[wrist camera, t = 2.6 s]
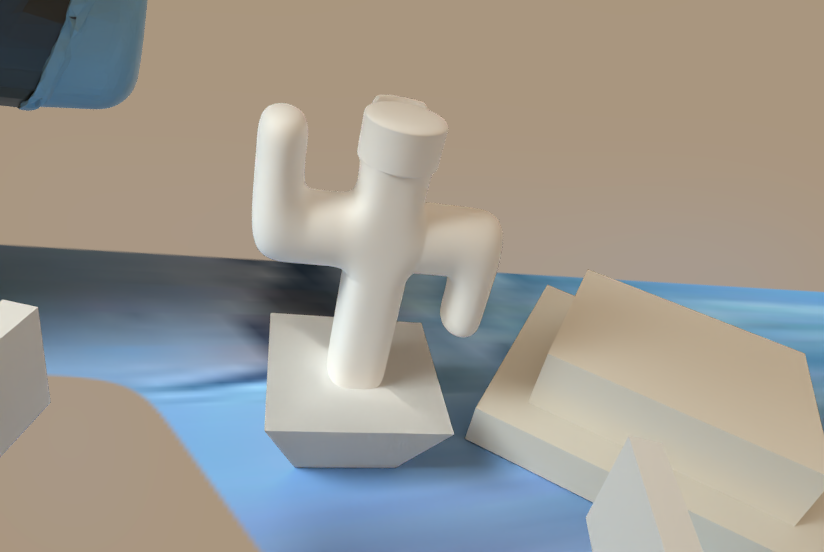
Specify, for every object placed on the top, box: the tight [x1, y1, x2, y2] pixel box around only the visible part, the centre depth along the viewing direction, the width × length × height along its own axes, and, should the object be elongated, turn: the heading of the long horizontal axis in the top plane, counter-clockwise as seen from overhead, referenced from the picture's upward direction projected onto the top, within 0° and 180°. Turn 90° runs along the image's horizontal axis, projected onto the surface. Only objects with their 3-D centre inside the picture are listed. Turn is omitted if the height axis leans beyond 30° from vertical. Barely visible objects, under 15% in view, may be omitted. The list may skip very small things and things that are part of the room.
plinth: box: [465, 269, 824, 552], centre depth 31 cm, size 16×14×5 cm
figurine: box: [252, 95, 503, 468], centre depth 24 cm, size 7×9×15 cm
